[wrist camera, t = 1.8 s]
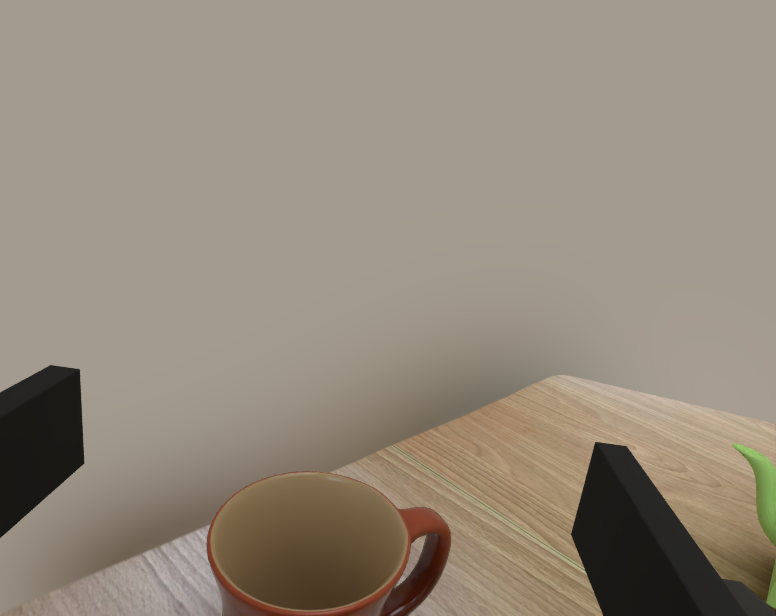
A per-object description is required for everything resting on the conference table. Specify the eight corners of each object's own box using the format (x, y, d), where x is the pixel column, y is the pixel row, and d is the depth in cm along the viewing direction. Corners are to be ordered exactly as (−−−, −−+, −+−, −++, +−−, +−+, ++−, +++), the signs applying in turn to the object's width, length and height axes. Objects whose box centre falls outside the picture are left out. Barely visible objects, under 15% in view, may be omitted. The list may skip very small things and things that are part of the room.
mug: (219, 851, 21) (230, 648, 18) (188, 654, 29) (192, 488, 26) (469, 725, 27) (510, 556, 24) (389, 590, 35) (411, 449, 32)
